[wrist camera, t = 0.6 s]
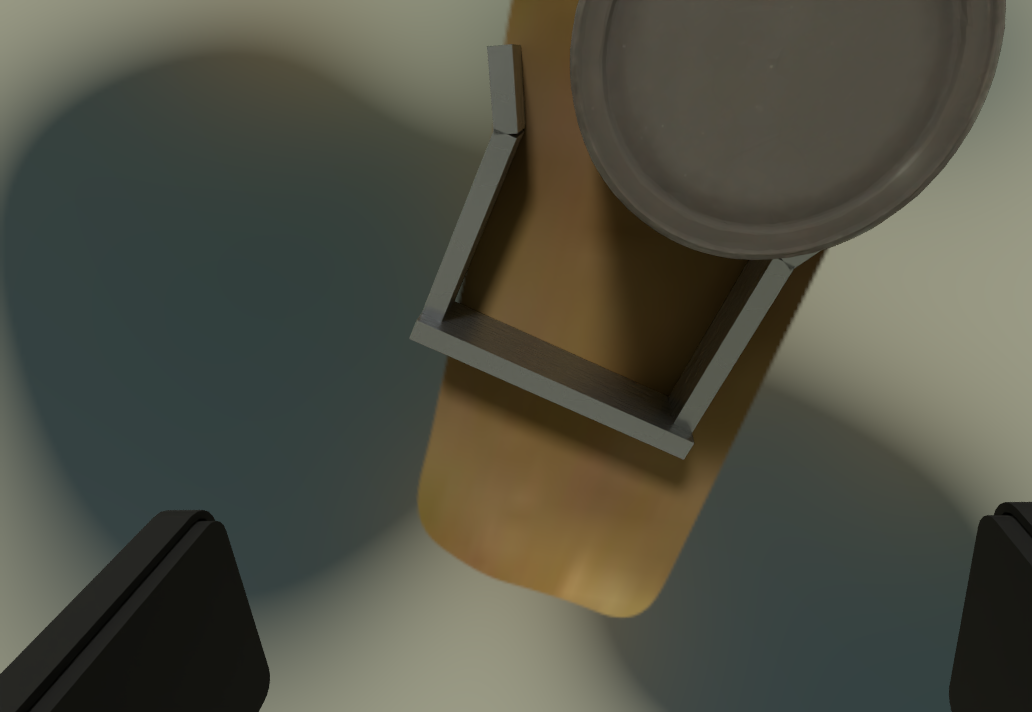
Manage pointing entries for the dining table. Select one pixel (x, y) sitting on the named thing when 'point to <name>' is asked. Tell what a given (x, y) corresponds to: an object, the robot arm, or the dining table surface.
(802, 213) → the coffee can
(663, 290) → the dining table surface
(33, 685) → the robot arm
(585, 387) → the bracket
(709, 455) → the dining table surface
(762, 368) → the dining table surface
